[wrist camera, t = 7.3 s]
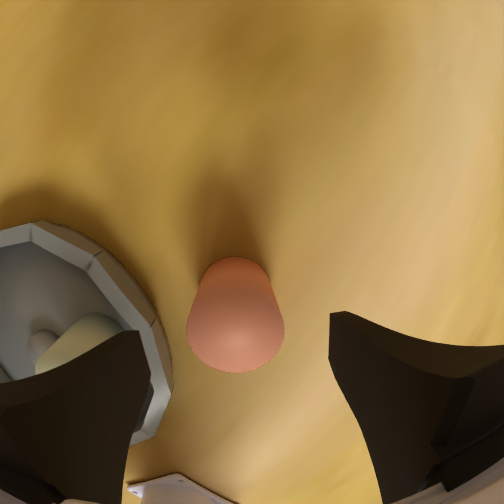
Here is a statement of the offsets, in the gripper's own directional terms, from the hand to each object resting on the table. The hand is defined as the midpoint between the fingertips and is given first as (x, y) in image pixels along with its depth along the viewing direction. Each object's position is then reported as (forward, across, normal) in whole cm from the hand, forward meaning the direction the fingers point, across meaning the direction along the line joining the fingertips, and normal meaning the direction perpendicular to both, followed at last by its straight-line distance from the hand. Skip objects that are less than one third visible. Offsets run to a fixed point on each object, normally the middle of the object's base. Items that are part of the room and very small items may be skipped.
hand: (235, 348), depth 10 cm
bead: (+6, 0, 0) cm, 6 cm away
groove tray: (+6, +13, +3) cm, 15 cm away
